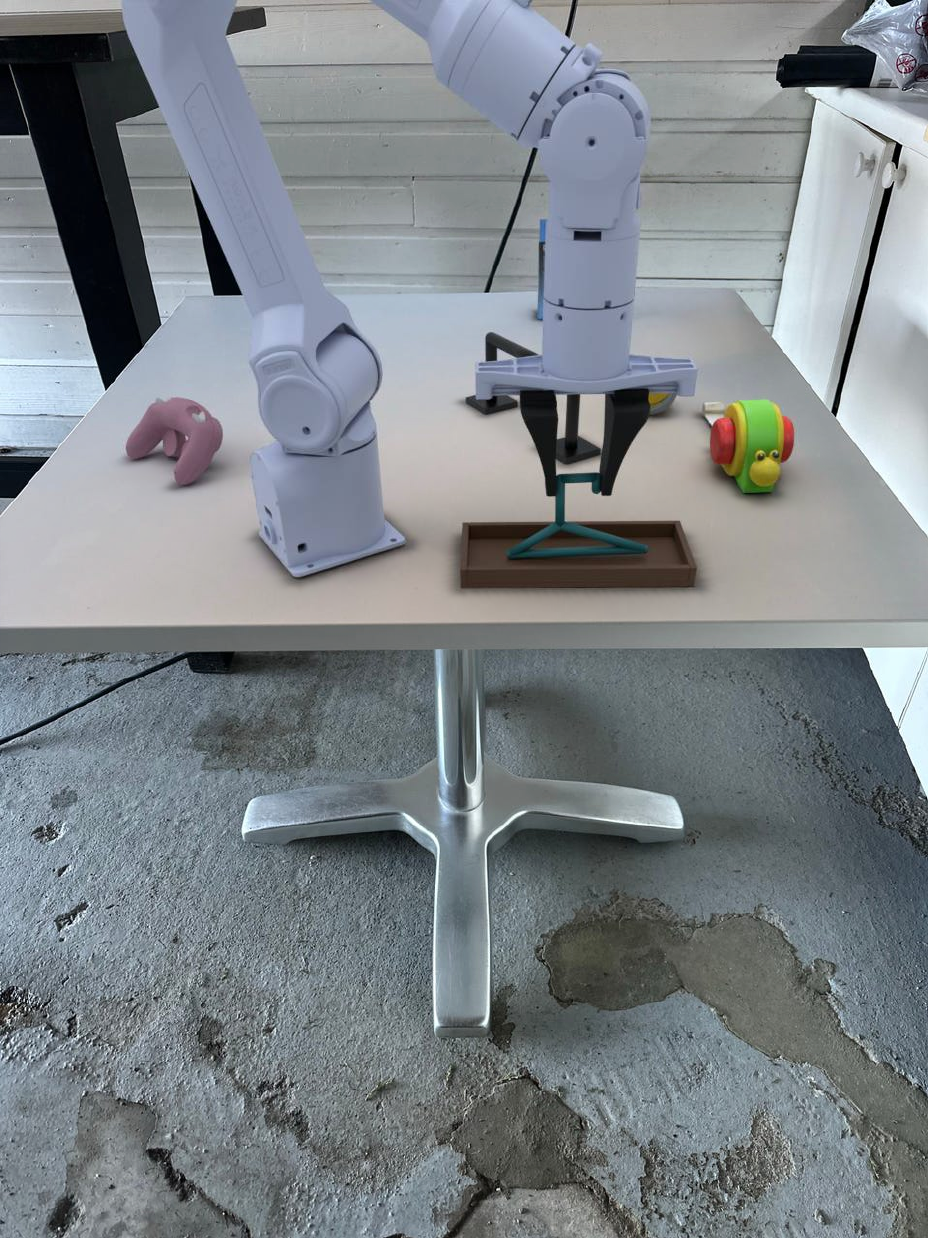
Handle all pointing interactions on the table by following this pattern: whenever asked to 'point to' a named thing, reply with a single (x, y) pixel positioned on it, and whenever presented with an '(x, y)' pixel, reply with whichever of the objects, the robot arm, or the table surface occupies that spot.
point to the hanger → (574, 529)
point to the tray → (655, 568)
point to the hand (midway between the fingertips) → (577, 489)
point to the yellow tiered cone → (660, 401)
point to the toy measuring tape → (750, 441)
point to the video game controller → (178, 436)
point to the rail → (566, 447)
